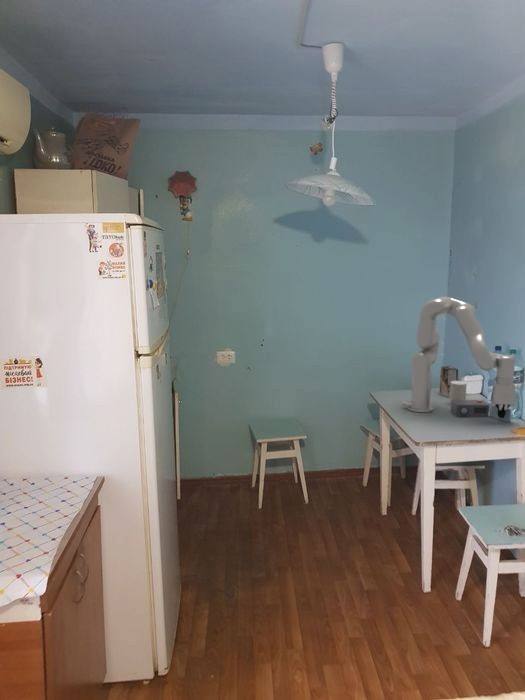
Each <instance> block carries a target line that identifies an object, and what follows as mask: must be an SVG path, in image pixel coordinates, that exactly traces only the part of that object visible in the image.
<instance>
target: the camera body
mask: <svg viewBox="0 0 525 700" xmlns="http://www.w3.org/2000/svg"><path fill="white" fill-rule="evenodd" d="M450 412H451V413H452V414H453V415H454V416H455V417H484V416H487V417H490V404H488V402H486V401H485V400H483V399H466V400H451V405H450Z"/></svg>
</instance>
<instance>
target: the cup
mask: <svg viewBox="0 0 525 700" xmlns="http://www.w3.org/2000/svg"><path fill="white" fill-rule="evenodd" d="M466 397H467V382H466V381H462V380H458V381H451V383H450V397H449V405H450V406H451V400H467V399H466Z"/></svg>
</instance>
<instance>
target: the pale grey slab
mask: <svg viewBox="0 0 525 700" xmlns="http://www.w3.org/2000/svg"><path fill="white" fill-rule="evenodd" d="M511 417H512V409H511V408H507V410H506V411H505V416H504V418H500V417H499V416H498V408H497V407H496V406H492V405H491V404H489V418H494V419H498V420H503V421H505V422H509V423H510V422H511V419H512V418H511Z"/></svg>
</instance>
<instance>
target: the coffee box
mask: <svg viewBox="0 0 525 700" xmlns="http://www.w3.org/2000/svg"><path fill="white" fill-rule="evenodd" d="M439 373H440V378H439V394H441V396H443V397H446V398H450V383H451V381H459V377H458V376H459V369H458V368H455V367H453V366H450V365H449V366H440V372H439Z"/></svg>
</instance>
